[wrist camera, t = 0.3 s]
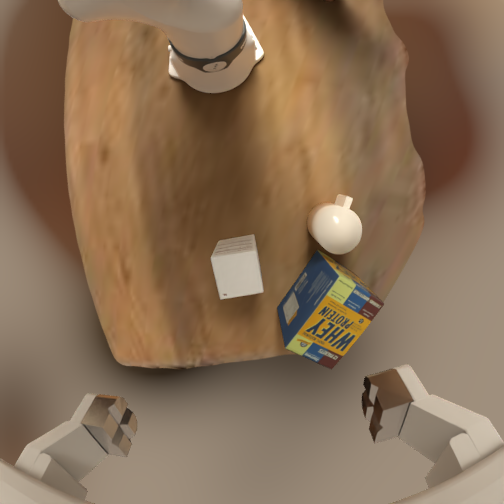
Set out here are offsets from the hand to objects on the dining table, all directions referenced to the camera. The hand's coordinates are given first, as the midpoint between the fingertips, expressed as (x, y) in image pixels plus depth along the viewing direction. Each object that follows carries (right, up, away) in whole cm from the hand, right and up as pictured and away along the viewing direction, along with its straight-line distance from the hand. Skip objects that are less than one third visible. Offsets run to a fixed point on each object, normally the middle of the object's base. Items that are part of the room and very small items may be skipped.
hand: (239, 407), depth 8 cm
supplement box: (-2, +5, +48) cm, 48 cm away
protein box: (+14, -3, +51) cm, 52 cm away
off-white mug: (+15, +11, +46) cm, 50 cm away
